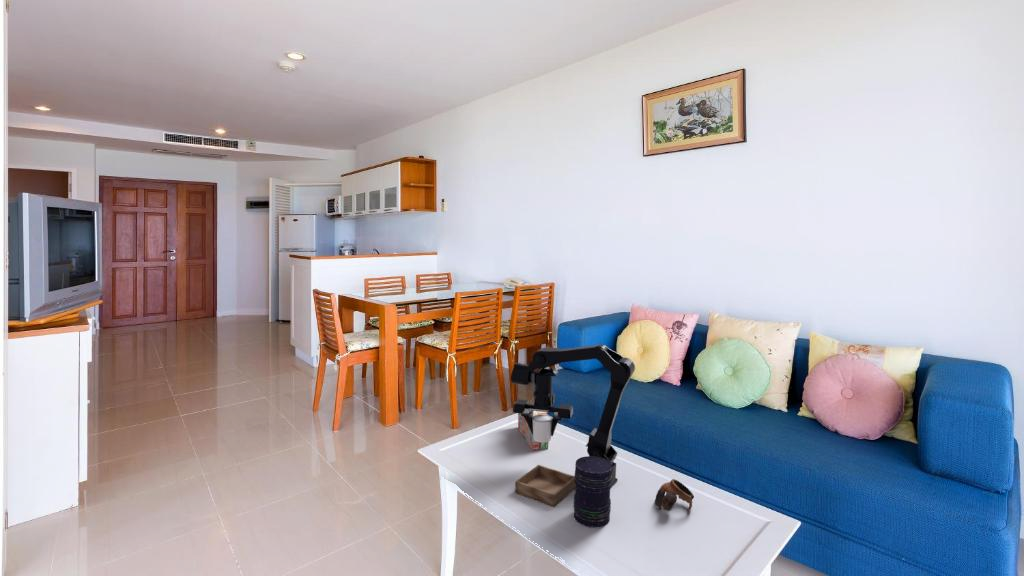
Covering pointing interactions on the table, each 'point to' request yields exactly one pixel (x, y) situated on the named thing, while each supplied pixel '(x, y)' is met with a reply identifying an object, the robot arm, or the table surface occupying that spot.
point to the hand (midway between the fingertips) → (542, 434)
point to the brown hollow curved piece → (673, 495)
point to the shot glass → (542, 428)
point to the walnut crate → (545, 485)
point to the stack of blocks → (527, 433)
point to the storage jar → (592, 491)
